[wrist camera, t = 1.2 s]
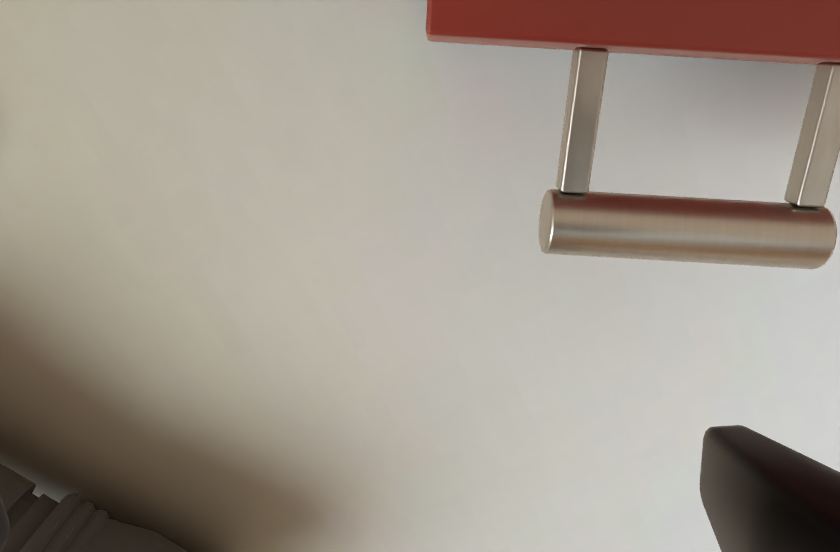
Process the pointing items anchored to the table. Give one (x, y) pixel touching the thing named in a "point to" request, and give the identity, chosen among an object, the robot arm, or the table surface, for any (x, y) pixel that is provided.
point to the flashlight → (68, 524)
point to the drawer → (687, 37)
